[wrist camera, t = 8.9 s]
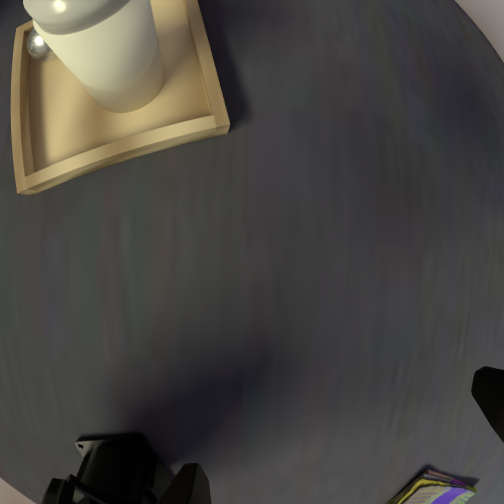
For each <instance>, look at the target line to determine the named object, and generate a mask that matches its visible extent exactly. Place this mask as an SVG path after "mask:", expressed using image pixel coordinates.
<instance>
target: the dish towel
mask: <svg viewBox="0 0 504 504" xmlns="http://www.w3.org/2000/svg"><path fill="white" fill-rule="evenodd" d="M477 491H478V489H476V488H475V487H473V486H471V487H470V486H469V485H467V484H465V483H463V482H461V481H459V480H457V479H454V478H452V477H449V476H446V475H443V474H441V473H439V472H435V471H431V470H429V469H428V470H426V471H425V472H424V473H423V474H422V475H421V476H418V477H417V478H416V479H415V480H414V481H413V482H412V483H411V484H409V485H408V486H407V487H406V488H405V489H404V490H403V491H402V492H400V493H399V494H398V495H397V496H396V497H395V498H394V499H392V500H391V501H390V502H389V503H388V504H464V503H465V502H466V501H467V500H468V499H469V498H470V497H471V496H473V495H474V494H476V493H477Z"/></svg>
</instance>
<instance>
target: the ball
mask: <svg viewBox="0 0 504 504" xmlns="http://www.w3.org/2000/svg"><path fill="white" fill-rule="evenodd" d="M27 48H28V52H29V54H30V55H31V56H32V57H33V58H34V59H35V60H37V61H41V62H50V61H54V60H56V59H58V56H57V55H56V54H55V53H54V52H53V50H52V49H51V48H50V47H49V46H48V45H47V43H46V42H45V41H44V40H43V39H42V37H41V36H40V35H39V34H38V33H37V31H36V30H35V28H34V27H33V28H32V30H31V32H30V34H29V36H28V40H27Z"/></svg>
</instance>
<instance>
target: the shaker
mask: <svg viewBox="0 0 504 504" xmlns="http://www.w3.org/2000/svg"><path fill="white" fill-rule="evenodd" d="M23 4H24V8H25V9H26V10H27V12H28V13H29V14H30V16H31V17H32V18H33V25H34V28H35V30H36V31H37V33H38V34H39V35H40V36H41V37H42V39H43V40H44V41H45V42H46V43H47V45H48V46H49V47H50V48H51V49H52V50H53V52H54V53H55V54H56V55H57V56H58V58H59V59H60V60H61V61H62V62H63V63H64V65H65V66H66V67H67V68H68V69H69V71H70V72H71V73H72V74H73V75H74V76H75V78H76V79H77V80H78V81H79V82H80V83H81V85H82V86H83V87H84V88H85V89H86V90H87V92H88V93H89V94H90V95H91V96H92V97H93V99H94V100H95V101H96V102H97V103H98V104H99V105H100V106H101V107H102V108H103V109H105V110H107V111H109V112H112V113H121V114H123V113H129V112H133V111H136V110H139V109H141V108H143V107H144V106H146V105H147V104H149V103H150V102H151V101H152V100H153V99H154V98H155V97H156V96H157V95H158V93H159V92H160V90H161V88H162V86H163V83H164V79H165V69H164V65H163V60H162V56H161V51H160V46H159V42H158V37H157V32H156V27H155V22H154V17H153V12H152V7H151V2H150V0H23Z"/></svg>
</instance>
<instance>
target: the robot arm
mask: <svg viewBox="0 0 504 504" xmlns="http://www.w3.org/2000/svg"><path fill="white" fill-rule="evenodd" d="M471 392H472V395H473V397H474V399H475V401H476V402H477V404H478V405H479V407H480V409H481V410H482V412H483V414H484V415H485V417H486V419H487V420H488V422H489V423H490V425H491V427H492V428H493V429H494V431H495V432H496V433H497V435H498V436H499V437H500V439H501V440H502V441H503V443H504V370H501V369H496V368H492V367H487V366H484V367H482V368H480V369H479V370H477V371H476V372H475V373H474V378H473V383H472V388H471ZM138 439H141V440H138ZM75 445H76V447H77V449H78V450H79V452H80V453H81V454H82V456H83V457H84V459H83V461H82V464H81V466H80V469H79V471H78V474H77V476H76V477H75V476H73V475H72V474H70V475H69V476H68V477H67V478H66V480H65V479H64V480H63V479H56V478H53V479H52V480H51V481H50V483H49V485H48V487H47V490H46V492H45V494H44V497H43V500H42V504H211V497H210V487H209V481H208V478H207V476H206V474H205V473H204V471H203V469H202V468H201V466H200V464H198V463H187V464H184V465H183V466H182V468H181V469H180V471H179V472H178V473H177V475H176V476H175V478H174V479H173V480H172V481H171V479H170V477H169V472H168V471H167V469H166V467H165V466H164V464H163V463H162V461H161V459H160V458H159V456H158V455H157V454H156V453H154V452H153V450H152V448H151V447H150V445H149V443H148V441H147V440H146V438H145V436H144V435H142V434H140V433H135V434H127V435H119V436H110V437H99V438H87V439H78V440H77V441H76V443H75ZM82 445H83V446H82Z"/></svg>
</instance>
